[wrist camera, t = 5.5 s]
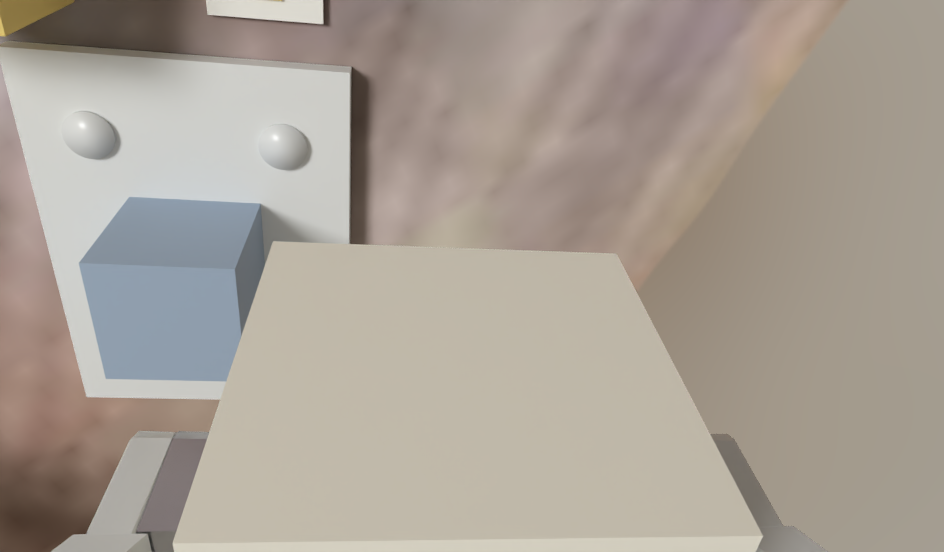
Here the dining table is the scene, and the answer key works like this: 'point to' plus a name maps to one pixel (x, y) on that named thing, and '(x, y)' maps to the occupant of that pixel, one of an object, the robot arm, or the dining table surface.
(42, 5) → the block
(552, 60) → the dining table surface
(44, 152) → the build plate
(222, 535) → the block
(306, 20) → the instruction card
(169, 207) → the block
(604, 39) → the dining table surface
